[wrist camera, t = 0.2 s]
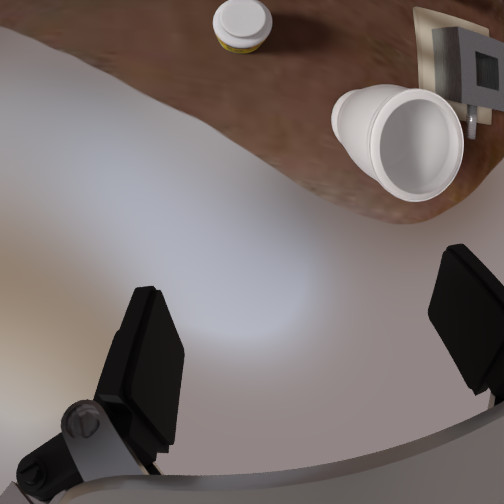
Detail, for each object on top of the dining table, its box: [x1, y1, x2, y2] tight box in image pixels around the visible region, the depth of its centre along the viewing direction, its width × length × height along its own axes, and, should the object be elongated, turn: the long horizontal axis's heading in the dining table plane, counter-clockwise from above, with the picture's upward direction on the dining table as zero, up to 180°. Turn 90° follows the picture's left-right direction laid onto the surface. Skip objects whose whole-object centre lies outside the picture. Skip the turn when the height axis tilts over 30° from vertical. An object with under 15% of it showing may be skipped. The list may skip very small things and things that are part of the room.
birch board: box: [413, 7, 492, 125], centre depth 30 cm, size 16×14×1 cm
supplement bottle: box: [213, 0, 272, 54], centre depth 25 cm, size 6×6×10 cm
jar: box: [331, 84, 464, 202], centre depth 29 cm, size 11×10×15 cm
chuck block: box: [431, 26, 504, 139], centre depth 28 cm, size 15×10×6 cm, turn 6°
